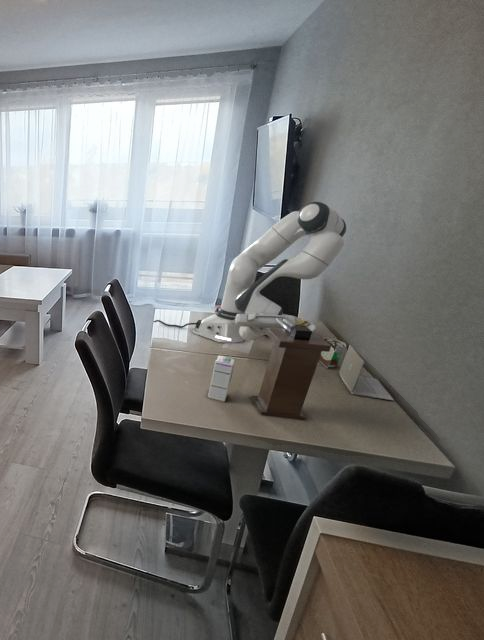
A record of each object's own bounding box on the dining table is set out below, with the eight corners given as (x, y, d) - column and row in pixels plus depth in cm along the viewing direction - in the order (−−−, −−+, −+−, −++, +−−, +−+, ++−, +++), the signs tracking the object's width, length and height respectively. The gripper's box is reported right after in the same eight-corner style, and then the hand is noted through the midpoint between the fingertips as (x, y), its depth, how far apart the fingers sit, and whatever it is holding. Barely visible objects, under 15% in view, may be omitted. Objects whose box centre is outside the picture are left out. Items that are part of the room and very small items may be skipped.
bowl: (244, 317, 229) (248, 303, 226) (308, 326, 217) (312, 312, 214) (245, 334, 204) (249, 319, 201) (317, 346, 193) (322, 330, 189)
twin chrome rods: (273, 320, 144) (275, 312, 143) (287, 321, 144) (289, 313, 142) (293, 339, 128) (296, 330, 127) (309, 340, 127) (312, 331, 126)
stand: (248, 396, 148) (267, 328, 137) (290, 400, 145) (313, 331, 135) (259, 414, 136) (281, 341, 126) (306, 420, 134) (332, 346, 123)
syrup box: (224, 402, 143) (234, 364, 137) (206, 397, 146) (215, 360, 140) (227, 395, 148) (236, 358, 142) (209, 390, 150) (218, 354, 145)
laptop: (393, 401, 146) (408, 368, 141) (350, 394, 150) (363, 361, 145) (376, 380, 161) (389, 349, 156) (338, 374, 166) (349, 344, 160)
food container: (345, 371, 168) (354, 349, 164) (329, 370, 169) (337, 347, 165) (331, 359, 179) (338, 337, 175) (315, 357, 180) (322, 336, 176)
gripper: (230, 315, 168) (240, 306, 155) (287, 318, 163) (302, 308, 150) (230, 330, 167) (239, 322, 154) (287, 333, 162) (301, 325, 149)
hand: (270, 315), depth 152 cm, fingers open, 8 cm apart
